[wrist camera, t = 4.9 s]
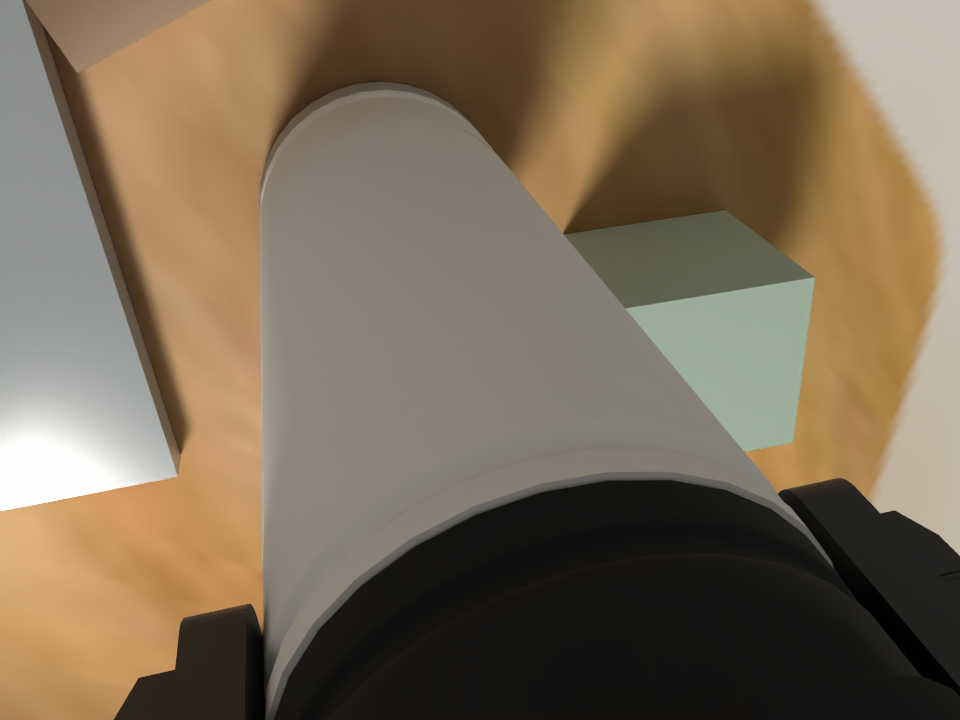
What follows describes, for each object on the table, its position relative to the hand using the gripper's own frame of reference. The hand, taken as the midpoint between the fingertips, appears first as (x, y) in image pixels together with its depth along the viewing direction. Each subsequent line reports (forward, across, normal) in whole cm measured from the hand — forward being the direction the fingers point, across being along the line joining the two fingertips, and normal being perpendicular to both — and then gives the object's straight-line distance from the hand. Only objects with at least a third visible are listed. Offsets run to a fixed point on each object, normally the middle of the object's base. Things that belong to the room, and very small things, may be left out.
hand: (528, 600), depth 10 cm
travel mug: (+15, 0, 0) cm, 15 cm away
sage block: (+15, -7, +5) cm, 18 cm away
